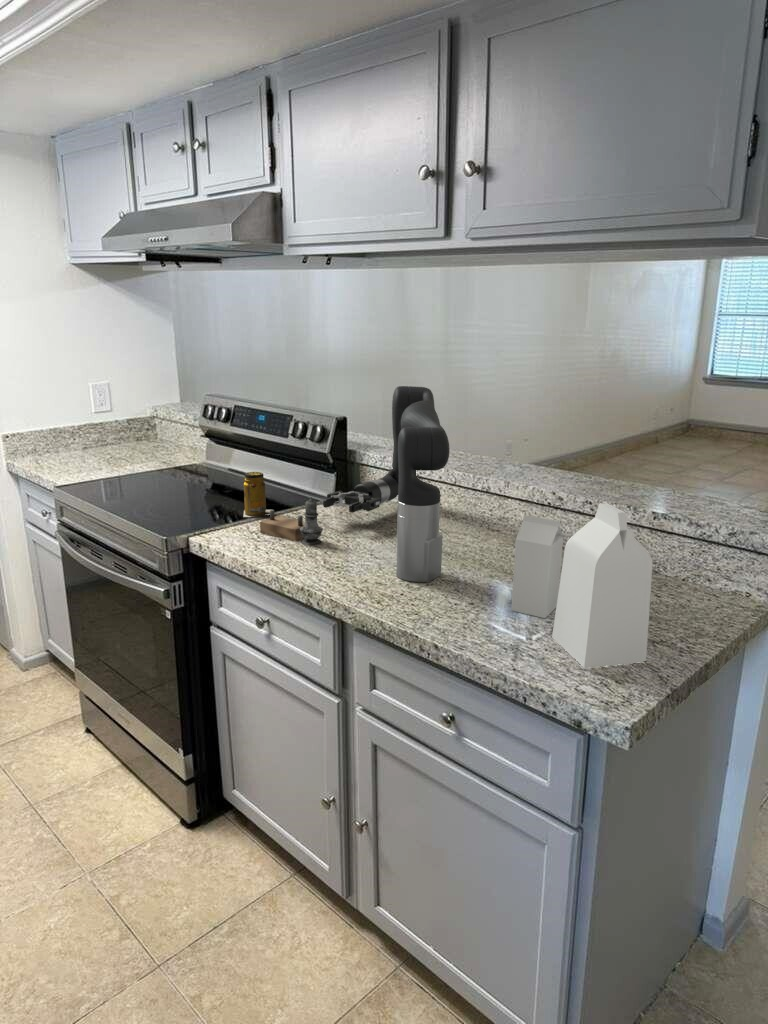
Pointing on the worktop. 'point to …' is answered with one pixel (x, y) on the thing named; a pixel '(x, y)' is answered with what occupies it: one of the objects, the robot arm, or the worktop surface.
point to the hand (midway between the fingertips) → (337, 506)
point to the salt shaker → (311, 525)
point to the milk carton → (537, 566)
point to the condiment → (254, 495)
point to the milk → (604, 593)
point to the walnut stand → (282, 527)
